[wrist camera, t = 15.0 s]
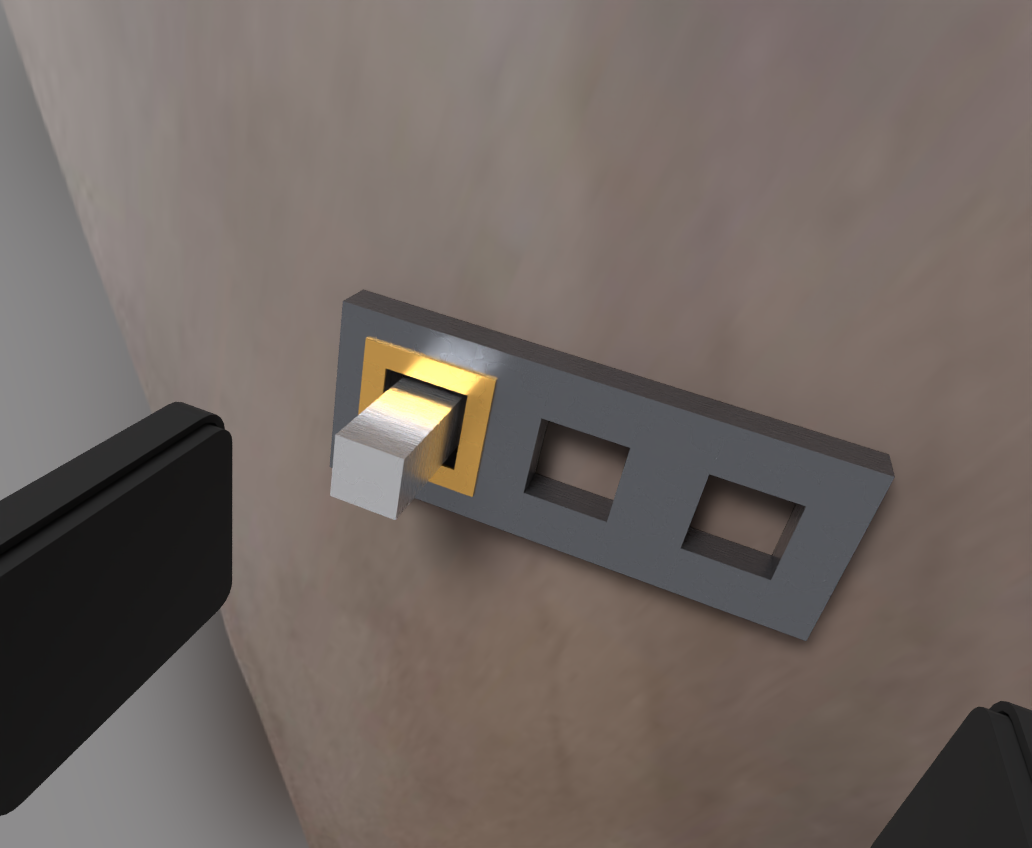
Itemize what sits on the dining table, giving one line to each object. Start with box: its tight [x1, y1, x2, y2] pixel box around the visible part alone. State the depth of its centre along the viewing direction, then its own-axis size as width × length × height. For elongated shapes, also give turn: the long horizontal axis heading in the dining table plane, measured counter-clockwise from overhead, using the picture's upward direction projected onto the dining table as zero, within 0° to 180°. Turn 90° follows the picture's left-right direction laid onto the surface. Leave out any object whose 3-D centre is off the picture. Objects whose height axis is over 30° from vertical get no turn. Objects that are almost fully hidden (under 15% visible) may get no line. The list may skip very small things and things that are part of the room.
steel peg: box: [330, 375, 468, 520], centre depth 44 cm, size 4×4×10 cm
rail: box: [330, 290, 895, 641], centre depth 45 cm, size 32×12×3 cm, turn 78°
